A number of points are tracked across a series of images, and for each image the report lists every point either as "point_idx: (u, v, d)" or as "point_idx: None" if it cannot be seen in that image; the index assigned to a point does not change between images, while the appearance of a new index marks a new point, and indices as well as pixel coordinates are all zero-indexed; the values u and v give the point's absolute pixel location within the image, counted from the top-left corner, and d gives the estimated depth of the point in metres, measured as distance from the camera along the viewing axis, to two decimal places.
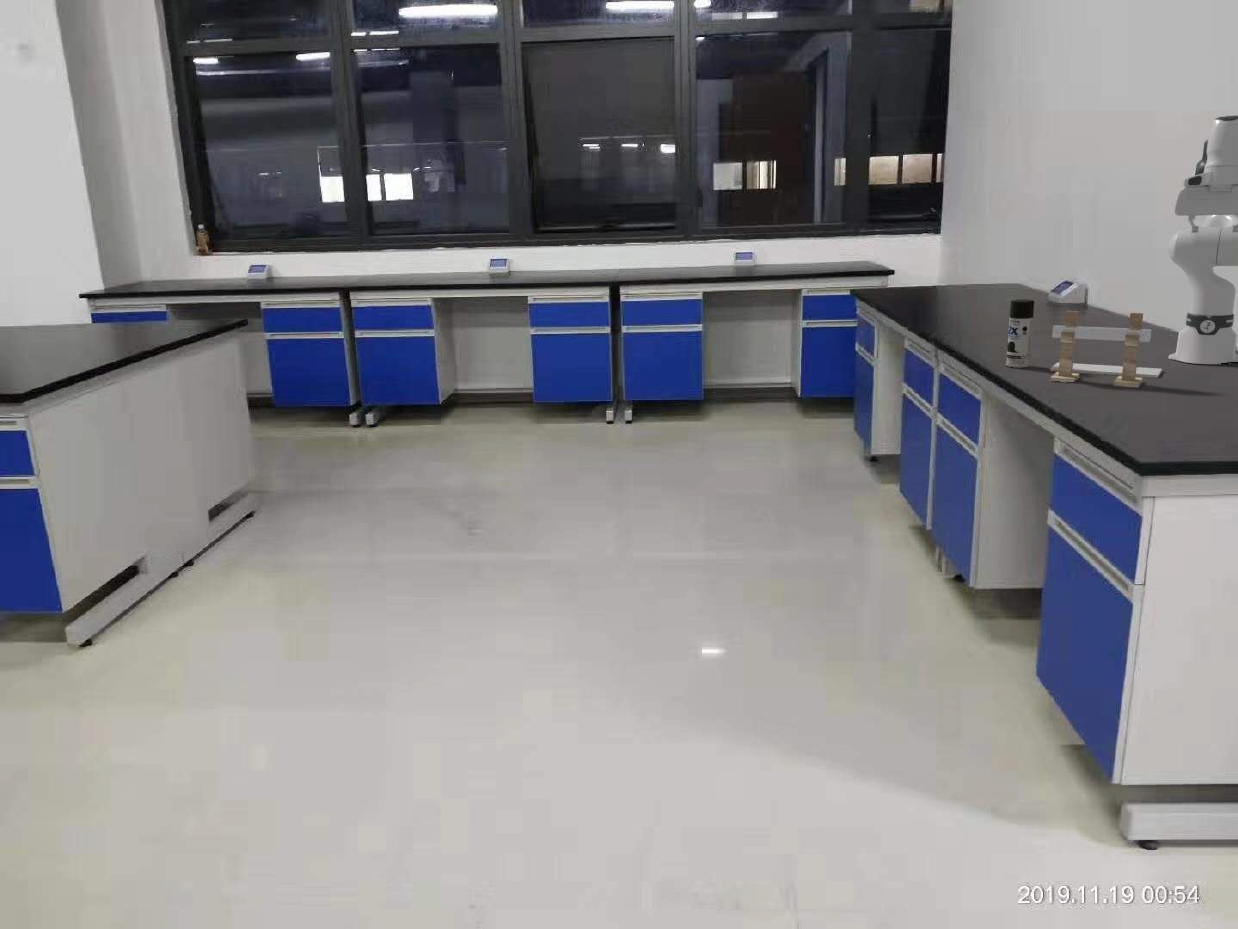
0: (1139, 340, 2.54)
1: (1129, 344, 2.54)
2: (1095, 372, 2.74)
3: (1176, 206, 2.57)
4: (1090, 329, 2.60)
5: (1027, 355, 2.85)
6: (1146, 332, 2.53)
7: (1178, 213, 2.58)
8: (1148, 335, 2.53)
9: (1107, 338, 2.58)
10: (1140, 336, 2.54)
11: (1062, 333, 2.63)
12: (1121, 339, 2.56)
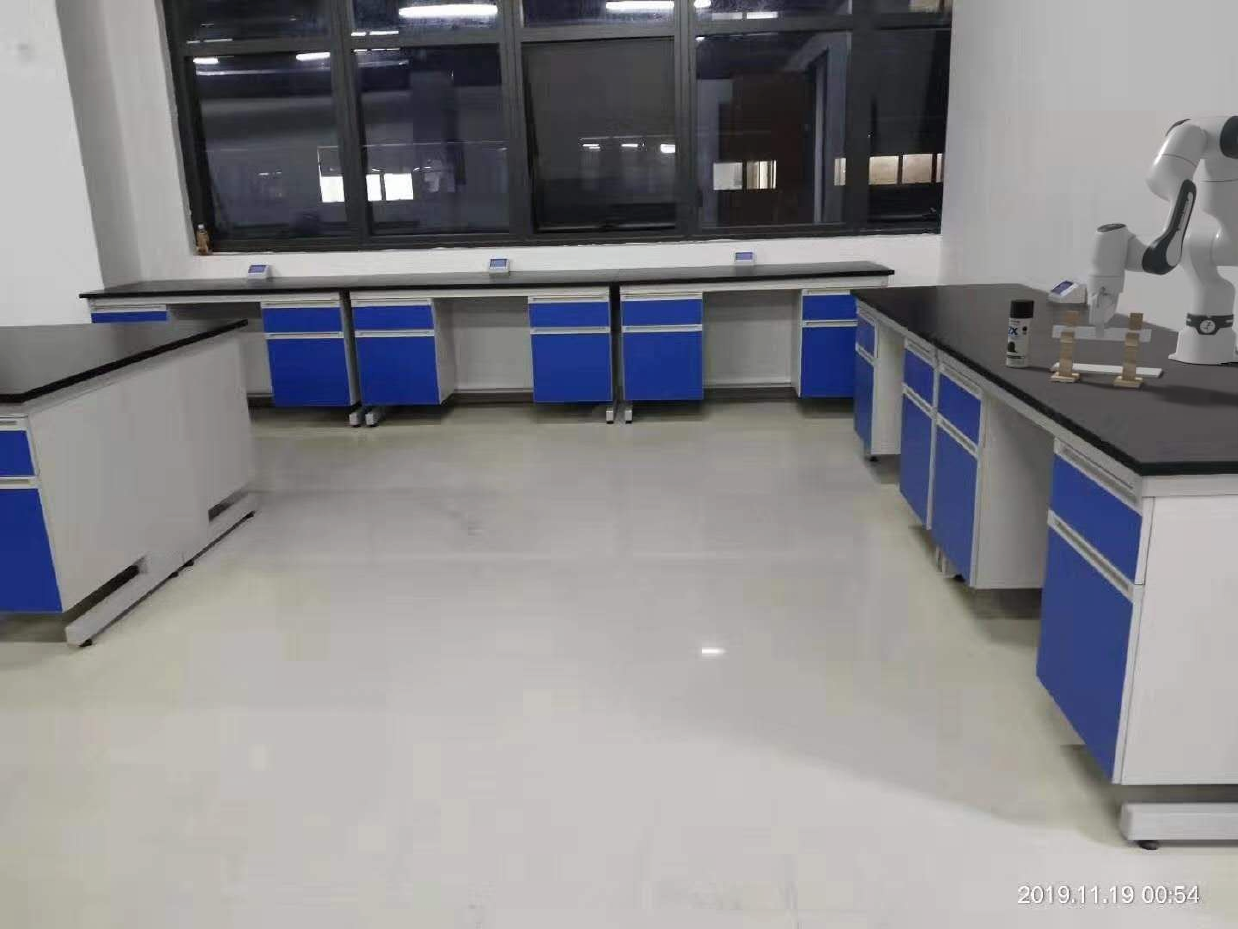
0: (1139, 340, 2.54)
1: (1129, 344, 2.54)
2: (1095, 372, 2.74)
3: None
4: (1090, 329, 2.60)
5: (1027, 355, 2.85)
6: (1146, 332, 2.53)
7: None
8: (1148, 335, 2.53)
9: (1107, 338, 2.58)
10: (1140, 336, 2.54)
11: (1062, 333, 2.63)
12: (1121, 339, 2.56)
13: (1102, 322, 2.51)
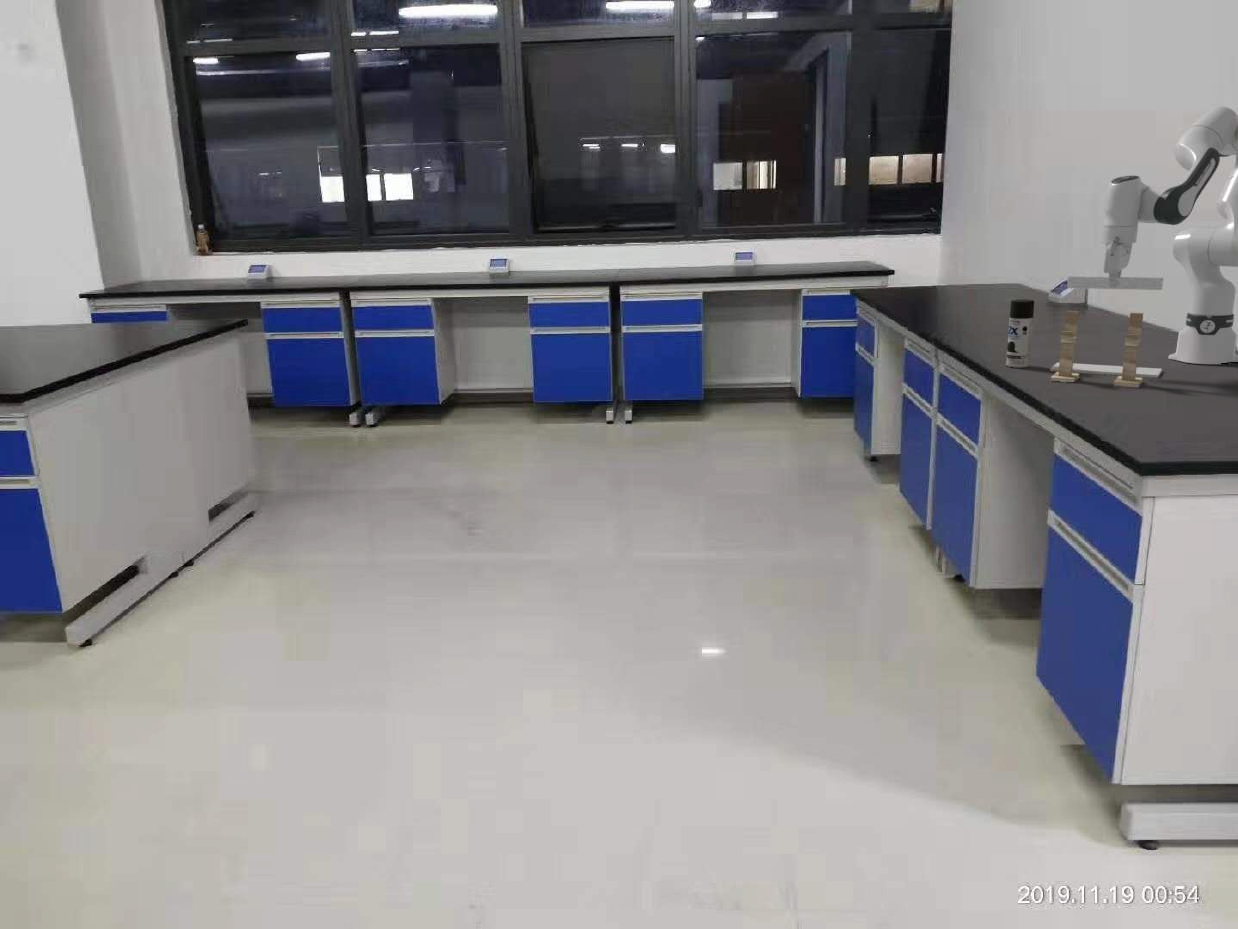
0: (1151, 288, 2.63)
1: (1129, 344, 2.54)
2: (1095, 372, 2.74)
3: None
4: (1104, 279, 2.69)
5: (1027, 355, 2.85)
6: (1158, 280, 2.62)
7: None
8: (1160, 283, 2.62)
9: (1120, 287, 2.67)
10: (1152, 284, 2.63)
11: (1062, 333, 2.63)
12: (1134, 288, 2.66)
13: (1116, 270, 2.60)
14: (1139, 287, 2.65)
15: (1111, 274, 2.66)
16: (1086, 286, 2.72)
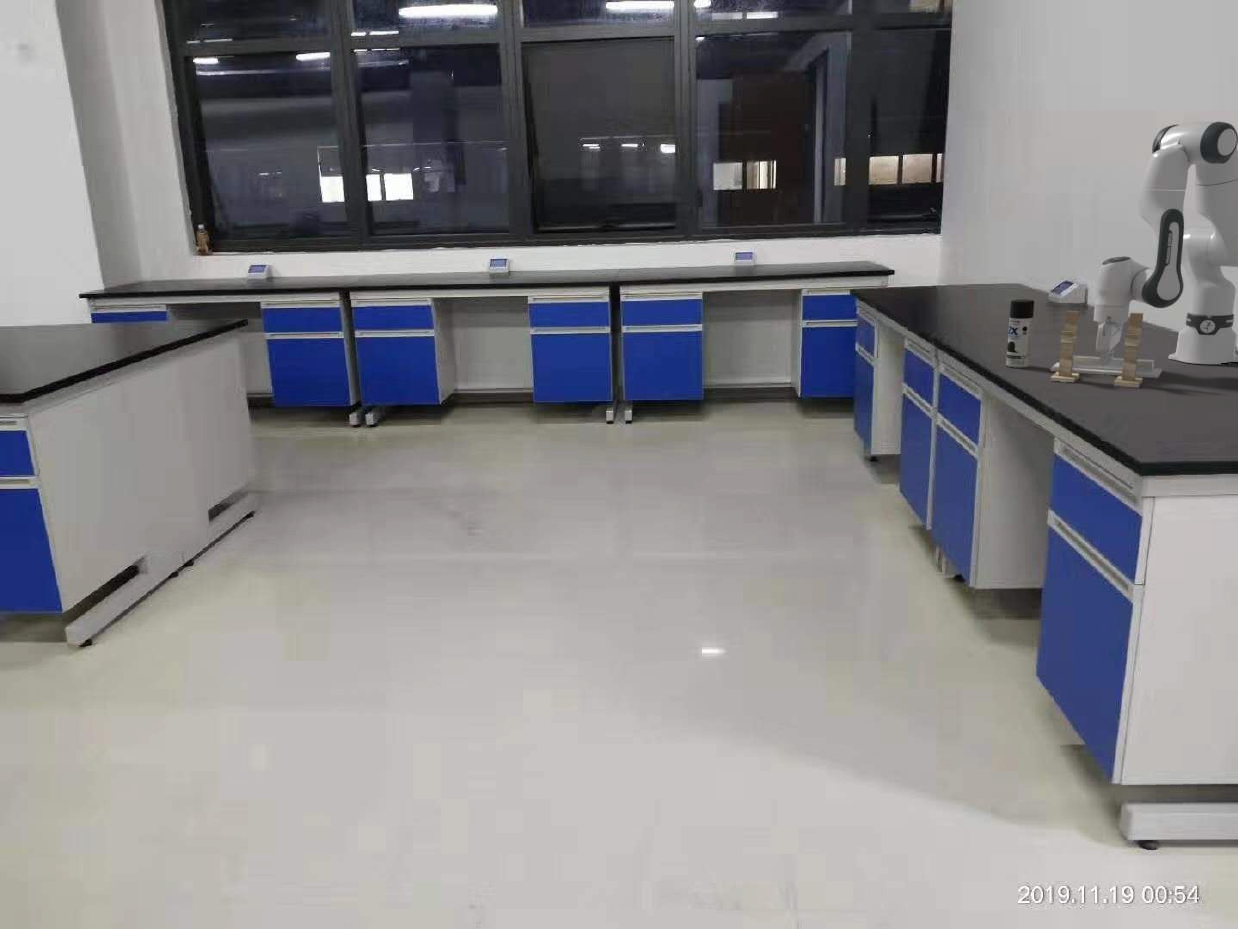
0: (1142, 370, 2.70)
1: (1129, 344, 2.54)
2: (1095, 372, 2.74)
3: None
4: (1096, 359, 2.76)
5: (1027, 355, 2.85)
6: (1149, 363, 2.68)
7: None
8: (1151, 366, 2.68)
9: (1112, 368, 2.74)
10: (1143, 367, 2.69)
11: (1062, 333, 2.63)
12: None
13: (1108, 350, 2.66)
14: None
15: (1102, 353, 2.70)
16: (1079, 366, 2.79)
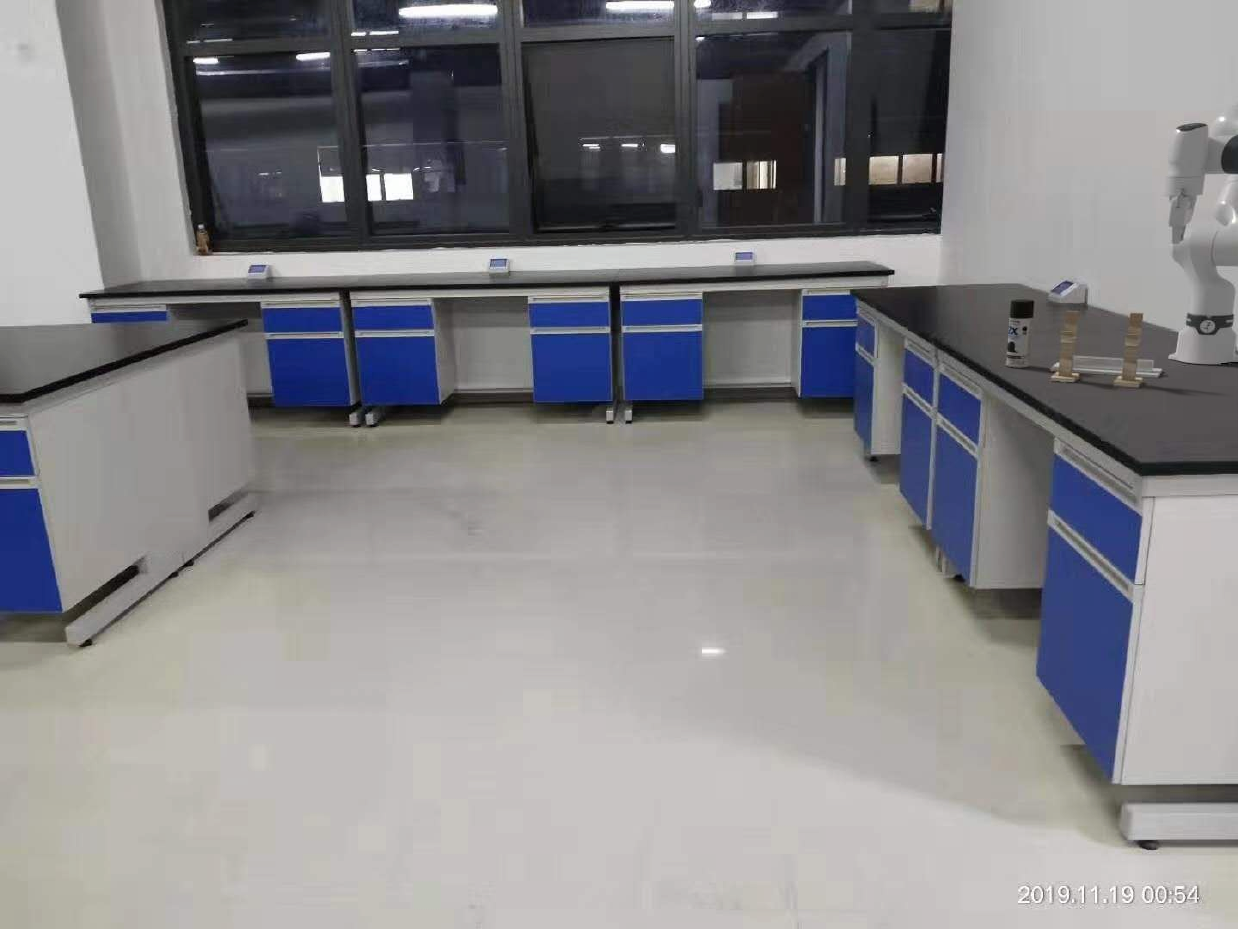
0: (1142, 370, 2.70)
1: (1129, 344, 2.54)
2: (1095, 372, 2.74)
3: None
4: (1096, 359, 2.76)
5: (1027, 355, 2.85)
6: (1149, 363, 2.68)
7: None
8: (1151, 366, 2.68)
9: (1112, 368, 2.74)
10: (1143, 367, 2.69)
11: (1062, 333, 2.63)
12: None
13: (1182, 223, 2.43)
14: None
15: (1174, 229, 2.47)
16: (1079, 366, 2.79)
